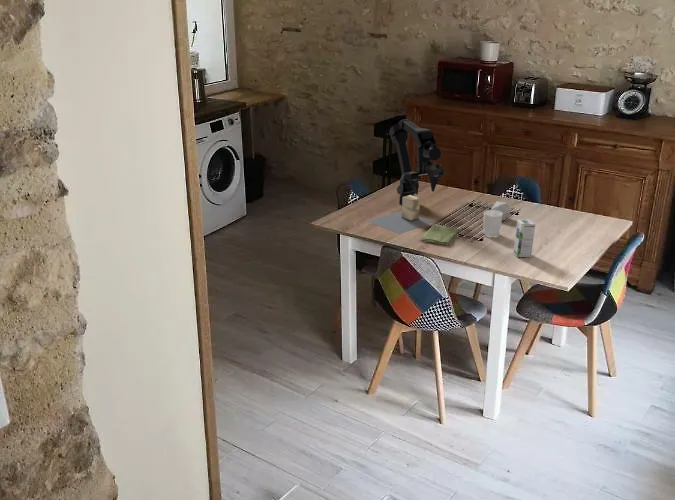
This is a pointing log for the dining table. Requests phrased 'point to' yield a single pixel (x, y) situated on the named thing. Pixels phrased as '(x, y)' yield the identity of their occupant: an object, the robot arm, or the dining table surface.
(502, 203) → the die
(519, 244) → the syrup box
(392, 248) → the dining table surface
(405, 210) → the maple block
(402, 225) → the rubber pad
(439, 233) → the washcloth
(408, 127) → the robot arm
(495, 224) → the white cup
